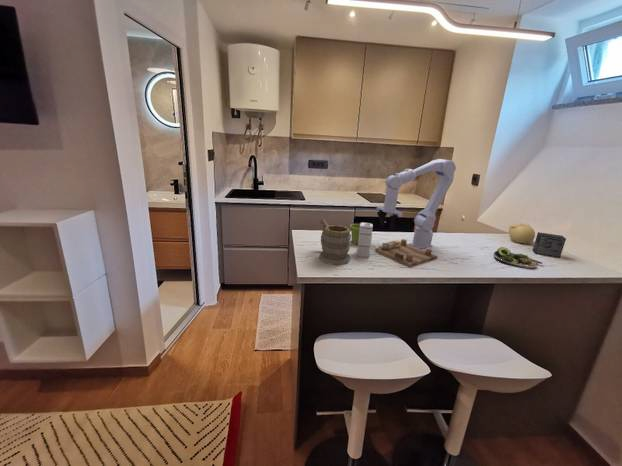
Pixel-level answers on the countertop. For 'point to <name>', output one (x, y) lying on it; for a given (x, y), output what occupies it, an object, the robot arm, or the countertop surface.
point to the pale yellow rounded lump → (521, 233)
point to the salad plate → (514, 258)
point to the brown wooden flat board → (407, 254)
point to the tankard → (335, 244)
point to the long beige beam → (391, 245)
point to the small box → (549, 245)
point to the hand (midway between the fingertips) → (386, 227)
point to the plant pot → (355, 232)
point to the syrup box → (364, 239)
